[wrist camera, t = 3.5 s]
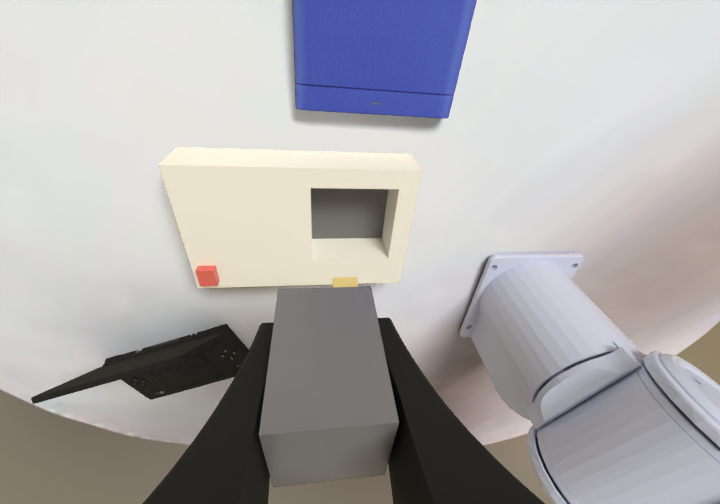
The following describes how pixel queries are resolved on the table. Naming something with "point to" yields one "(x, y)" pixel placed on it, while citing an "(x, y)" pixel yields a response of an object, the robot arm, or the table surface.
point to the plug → (327, 387)
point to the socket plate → (291, 214)
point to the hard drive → (379, 55)
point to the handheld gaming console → (166, 366)
